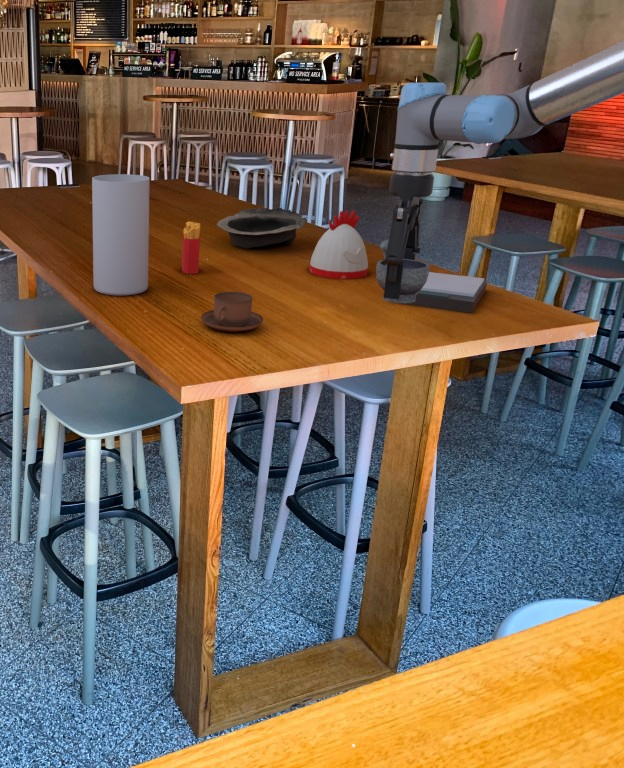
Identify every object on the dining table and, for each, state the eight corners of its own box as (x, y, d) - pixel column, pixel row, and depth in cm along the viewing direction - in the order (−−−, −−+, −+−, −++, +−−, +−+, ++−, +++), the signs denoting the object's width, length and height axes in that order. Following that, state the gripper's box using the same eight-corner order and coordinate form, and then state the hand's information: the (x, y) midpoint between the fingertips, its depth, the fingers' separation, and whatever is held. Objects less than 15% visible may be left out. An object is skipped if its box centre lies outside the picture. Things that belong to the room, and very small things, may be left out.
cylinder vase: (154, 295, 177) (155, 180, 168) (99, 298, 175) (98, 182, 165) (140, 281, 188) (141, 173, 179) (89, 284, 186) (87, 175, 177)
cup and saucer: (259, 338, 149) (261, 307, 146) (196, 333, 152) (197, 302, 149) (265, 320, 159) (267, 290, 157) (206, 316, 162) (207, 286, 160)
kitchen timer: (378, 275, 193) (386, 213, 187) (330, 280, 188) (336, 217, 183) (345, 263, 205) (351, 204, 199) (298, 267, 201) (304, 208, 195)
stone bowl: (304, 237, 234) (307, 206, 230) (302, 262, 212) (306, 228, 208) (220, 232, 239) (222, 202, 235) (211, 256, 217) (212, 223, 213)
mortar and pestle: (396, 290, 159) (403, 230, 154) (436, 300, 151) (445, 238, 147) (357, 298, 153) (363, 236, 149) (396, 309, 146) (404, 244, 141)
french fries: (180, 267, 202) (181, 219, 197) (195, 266, 202) (197, 219, 197) (184, 275, 194) (185, 226, 189) (200, 275, 194) (202, 226, 189)
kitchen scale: (471, 313, 164) (474, 298, 162) (392, 302, 171) (394, 288, 170) (485, 291, 179) (487, 277, 178) (412, 282, 187) (414, 269, 186)
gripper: (405, 165, 155) (391, 277, 163) (376, 178, 137) (362, 303, 145) (445, 167, 151) (429, 281, 159) (421, 180, 133) (404, 308, 141)
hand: (397, 291), depth 152 cm, fingers closed on mortar and pestle, 10 cm apart
